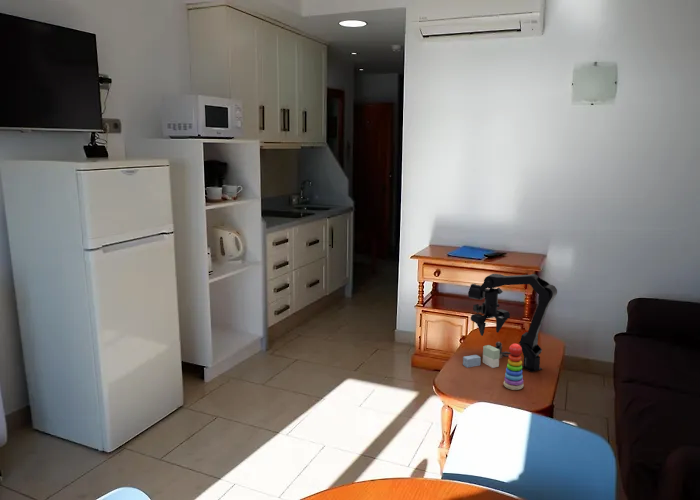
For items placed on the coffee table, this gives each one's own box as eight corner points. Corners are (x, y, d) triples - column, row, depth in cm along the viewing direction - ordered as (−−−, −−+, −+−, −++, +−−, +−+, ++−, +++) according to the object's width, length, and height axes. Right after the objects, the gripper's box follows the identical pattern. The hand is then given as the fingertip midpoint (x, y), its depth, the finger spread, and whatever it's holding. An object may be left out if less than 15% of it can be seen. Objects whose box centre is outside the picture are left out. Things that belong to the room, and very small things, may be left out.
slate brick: (476, 362, 249) (476, 354, 248) (480, 365, 246) (480, 357, 245) (462, 365, 246) (463, 356, 246) (467, 367, 243) (467, 359, 242)
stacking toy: (499, 384, 226) (501, 341, 223) (515, 381, 229) (517, 339, 225) (511, 392, 219) (513, 348, 215) (527, 388, 222) (530, 345, 218)
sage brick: (499, 358, 243) (499, 349, 243) (493, 359, 242) (493, 351, 241) (488, 353, 250) (489, 344, 249) (482, 354, 248) (483, 346, 247)
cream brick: (498, 366, 244) (499, 358, 243) (492, 368, 243) (492, 359, 242) (488, 361, 250) (489, 353, 250) (482, 362, 249) (483, 354, 248)
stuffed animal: (512, 358, 251) (491, 341, 254) (499, 372, 255) (479, 355, 258) (516, 349, 261) (496, 333, 264) (504, 363, 265) (484, 347, 268)
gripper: (494, 294, 259) (493, 325, 262) (463, 299, 251) (462, 331, 254) (511, 300, 249) (509, 332, 252) (479, 306, 241) (478, 339, 244)
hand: (489, 333), depth 251 cm, fingers open, 9 cm apart
